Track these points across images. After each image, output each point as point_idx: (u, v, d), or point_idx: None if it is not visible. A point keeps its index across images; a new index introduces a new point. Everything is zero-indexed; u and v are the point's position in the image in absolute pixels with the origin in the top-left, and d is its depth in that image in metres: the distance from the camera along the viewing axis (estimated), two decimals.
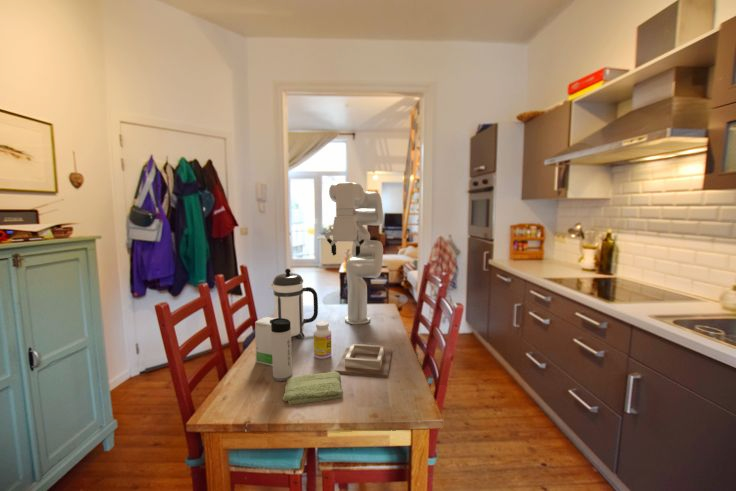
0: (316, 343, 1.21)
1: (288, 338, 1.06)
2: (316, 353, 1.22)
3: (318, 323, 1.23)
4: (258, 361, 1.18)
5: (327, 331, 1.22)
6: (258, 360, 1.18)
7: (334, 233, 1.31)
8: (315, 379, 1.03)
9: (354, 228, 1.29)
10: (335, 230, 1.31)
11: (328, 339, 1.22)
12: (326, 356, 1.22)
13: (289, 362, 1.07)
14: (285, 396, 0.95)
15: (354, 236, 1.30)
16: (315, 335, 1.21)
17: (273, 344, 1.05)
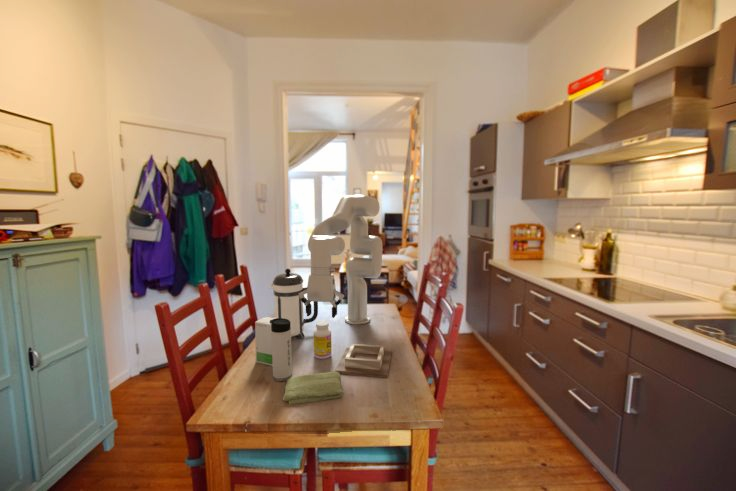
0: (316, 343, 1.21)
1: (288, 338, 1.06)
2: (316, 353, 1.22)
3: (318, 323, 1.23)
4: (258, 361, 1.18)
5: (327, 331, 1.22)
6: (258, 360, 1.18)
7: (308, 293, 1.20)
8: (315, 379, 1.03)
9: (330, 288, 1.18)
10: (309, 290, 1.19)
11: (328, 339, 1.22)
12: (326, 356, 1.22)
13: (289, 362, 1.07)
14: (285, 396, 0.95)
15: (330, 297, 1.18)
16: (315, 335, 1.21)
17: (273, 344, 1.05)
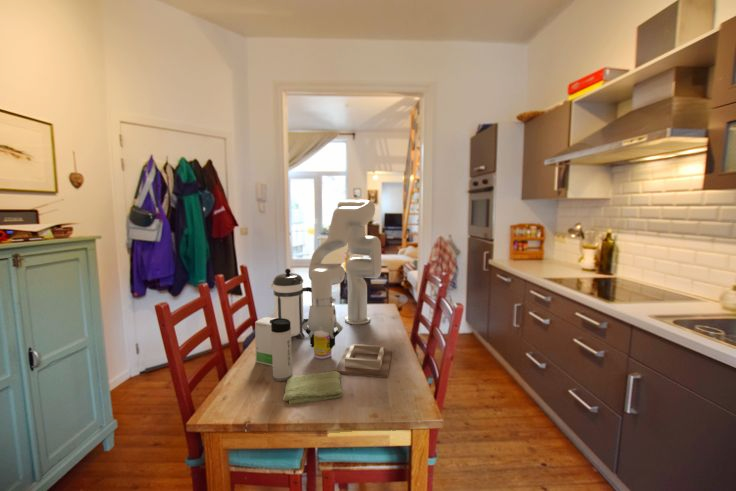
0: (316, 343, 1.21)
1: (288, 338, 1.06)
2: (316, 353, 1.22)
3: None
4: (258, 361, 1.18)
5: None
6: (258, 360, 1.18)
7: (309, 323, 1.21)
8: (315, 379, 1.03)
9: (331, 318, 1.20)
10: (310, 320, 1.21)
11: (328, 339, 1.22)
12: (326, 356, 1.22)
13: (289, 362, 1.07)
14: (285, 396, 0.95)
15: (331, 327, 1.20)
16: (315, 335, 1.21)
17: (273, 344, 1.05)
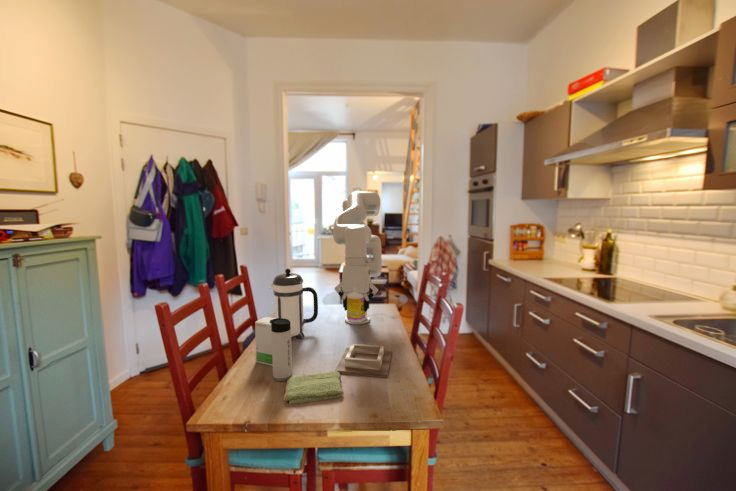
0: (350, 305, 1.15)
1: (288, 338, 1.06)
2: (350, 316, 1.15)
3: None
4: (258, 361, 1.18)
5: None
6: (258, 360, 1.18)
7: (343, 284, 1.15)
8: (315, 379, 1.03)
9: (366, 279, 1.13)
10: (344, 281, 1.15)
11: (362, 301, 1.15)
12: (360, 319, 1.15)
13: (289, 362, 1.07)
14: (286, 396, 0.95)
15: (366, 288, 1.14)
16: (349, 297, 1.15)
17: (273, 344, 1.05)
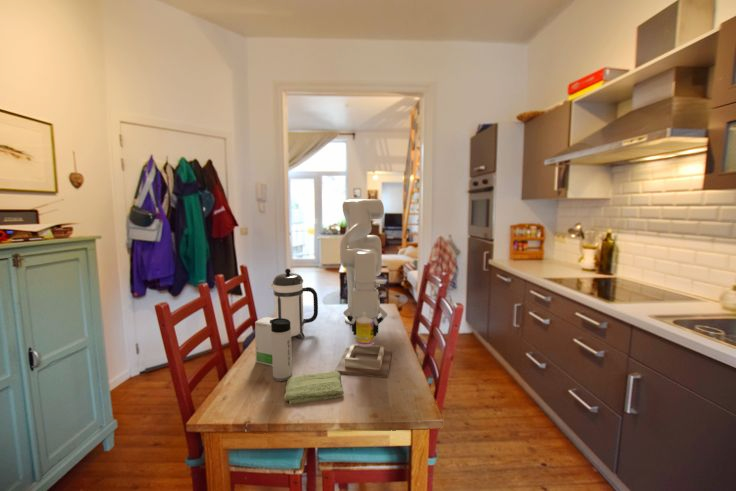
0: (359, 330, 1.14)
1: (288, 338, 1.06)
2: (359, 341, 1.15)
3: None
4: (258, 361, 1.18)
5: None
6: (258, 360, 1.18)
7: (352, 309, 1.15)
8: (315, 379, 1.03)
9: (375, 304, 1.13)
10: (353, 305, 1.14)
11: (372, 326, 1.15)
12: (370, 344, 1.15)
13: (289, 362, 1.07)
14: (286, 396, 0.95)
15: (375, 313, 1.14)
16: (358, 322, 1.14)
17: (273, 344, 1.05)
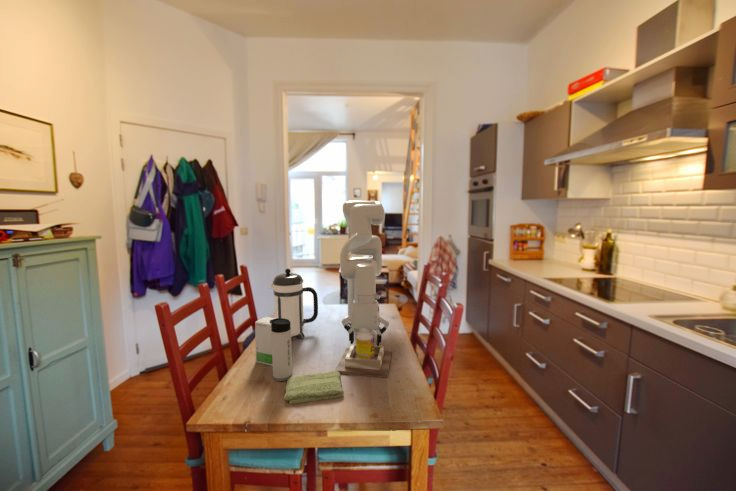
0: (359, 347, 1.16)
1: (288, 338, 1.06)
2: (359, 357, 1.16)
3: None
4: (258, 361, 1.18)
5: (370, 334, 1.16)
6: (258, 360, 1.18)
7: (352, 320, 1.15)
8: (316, 378, 1.03)
9: (375, 316, 1.14)
10: (353, 317, 1.15)
11: (372, 343, 1.16)
12: None
13: (289, 362, 1.07)
14: (286, 396, 0.95)
15: (375, 325, 1.14)
16: (358, 338, 1.15)
17: (273, 344, 1.05)
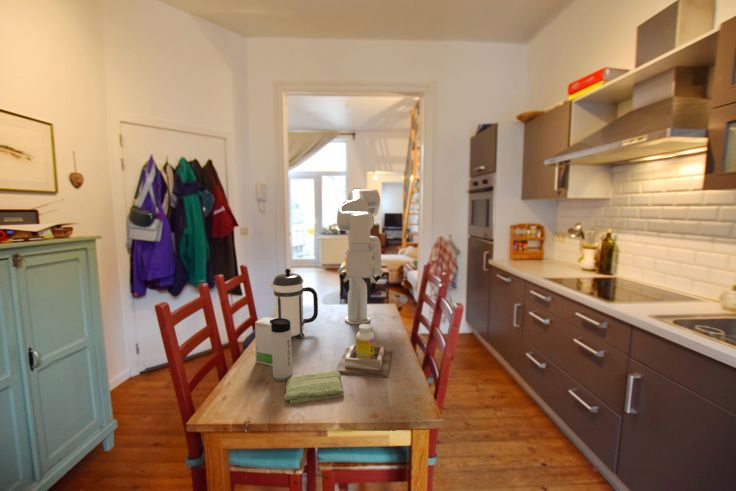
0: (359, 347, 1.15)
1: (288, 338, 1.06)
2: (359, 357, 1.16)
3: (361, 326, 1.17)
4: (258, 361, 1.18)
5: (371, 334, 1.16)
6: (258, 360, 1.18)
7: (348, 269, 1.19)
8: (316, 378, 1.03)
9: (370, 264, 1.18)
10: (349, 266, 1.19)
11: (372, 343, 1.16)
12: None
13: (289, 362, 1.07)
14: (286, 396, 0.95)
15: (370, 273, 1.18)
16: (358, 338, 1.15)
17: (273, 344, 1.05)
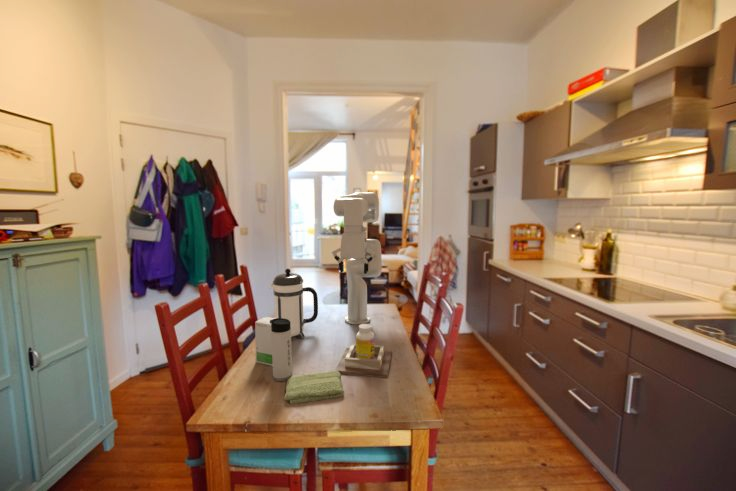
0: (359, 347, 1.16)
1: (288, 338, 1.06)
2: (359, 357, 1.16)
3: (361, 326, 1.17)
4: (258, 361, 1.18)
5: (371, 334, 1.16)
6: (258, 360, 1.18)
7: (342, 250, 1.27)
8: (316, 378, 1.03)
9: (362, 245, 1.26)
10: (343, 247, 1.27)
11: (372, 343, 1.16)
12: None
13: (289, 362, 1.07)
14: (286, 396, 0.95)
15: (362, 254, 1.26)
16: (358, 338, 1.15)
17: (273, 344, 1.05)
